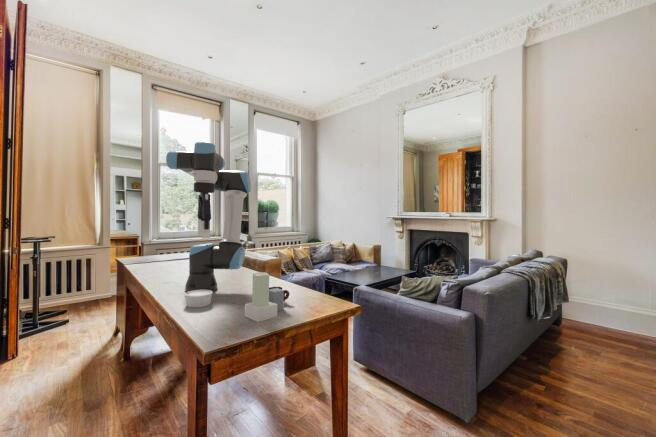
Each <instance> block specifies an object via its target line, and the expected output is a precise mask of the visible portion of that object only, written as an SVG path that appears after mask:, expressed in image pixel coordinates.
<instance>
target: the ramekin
mask: <svg viewBox="0 0 656 437" xmlns="http://www.w3.org/2000/svg"><path fill="white" fill-rule="evenodd" d="M213 294H214V293H213V291H211V290H205V289H202V290H193V291H189V292H186V291H185V293H184V298H185V305H186V306H187V307H188V308H192V309H195V308H203V307H207V306H209V305H210V304H211V303H212V298H213V297H212V296H213Z"/></svg>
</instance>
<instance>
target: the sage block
mask: <svg viewBox="0 0 656 437" xmlns="http://www.w3.org/2000/svg"><path fill="white" fill-rule="evenodd" d="M269 288H270V274H269V273H267V272H266V271H263V272H261V271H260V272H253V273H252V293H251V294H252V297H251V298H252V300H251V302H252V303H253V304H254V305H255V306H256V307H258V306H265V305H269Z"/></svg>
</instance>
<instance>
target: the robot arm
mask: <svg viewBox="0 0 656 437" xmlns="http://www.w3.org/2000/svg"><path fill="white" fill-rule="evenodd" d="M193 148H194V151H187V150H186V151H185V150H184V151H183V150H179V151H178V150H173V151H171V150H170V151H169V152H167V154H166V158H165V159H166V160H165V161H166V165H167V167H168V168H169V169H171V170H179V171H183V172H185V173H186V174H188V175H190V177H192V178H193V180H194V183H193V191H194V193H199V195H198V198H197V200H198V208H197V215H196V216H197V235H198V236H201V239H210V238H211V220H212V209H211V194H213V193H215V192H216V191H217V192H224V194H225V196H226V205H225V206H226V207H225V214H224V222H223V223H224V224H223V233H222V239H221V240H220V241H218V242H219V243H218V245H217V246H216V245H215V243H213V242H212V243H211V242H210V243H200V244H195V245H192V246H190V248H189V255H188V259H189V264H188V266H189V267H188V268H189V269H188V270H189V272H188V277H187V279H186V280H187V281H186V283H185V288H184V291H185V293H186V292H189V291H193V290H202V289H205V290H211V291H212V292H213V291H216V290H217V289H218V282H217V279H216V276H215V270H230V271H232V270H240V269H241V268H242V266H243V263H244V262H245V257H246V248H245V247H244V246H243V243H242V242H241V240H240V239H241V229H242V220H243V211H244V210H243V208H244V199H245V198H246V197H248V196H247V195H248V194H249V193H250V192H251V189H252V187H251V186H252V185H251V178H250V174H249V173H248V172H247V171H246V170H245V171H244V170H228V169H227V170H226V169H225V170H223V169H224V168H225V164H226V162H225V159H224V158H223V156H222V155H221V154H219V153H217V152H216V151H217V150H216V145H215V144H214V143H213V142H209V141H196V142H195V143H194V147H193Z"/></svg>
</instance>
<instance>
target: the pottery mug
mask: <svg viewBox="0 0 656 437" xmlns="http://www.w3.org/2000/svg"><path fill="white" fill-rule="evenodd" d="M274 288H279V289H281V290H284V302H286V300H288V298H290V291H289V290H288V289H283V287H281V286H271V287H270V286H269V289H274Z"/></svg>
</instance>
